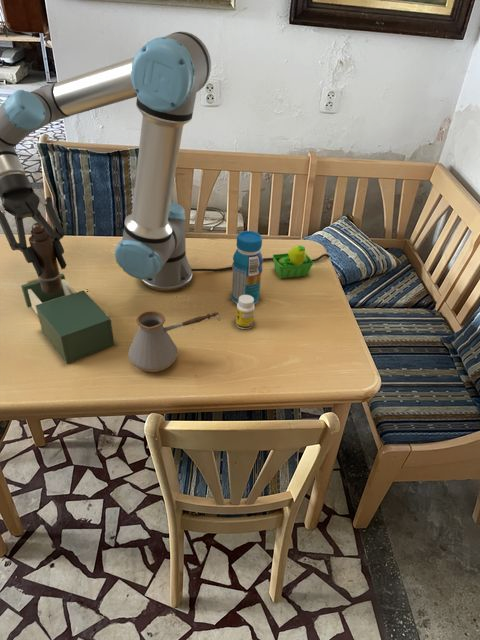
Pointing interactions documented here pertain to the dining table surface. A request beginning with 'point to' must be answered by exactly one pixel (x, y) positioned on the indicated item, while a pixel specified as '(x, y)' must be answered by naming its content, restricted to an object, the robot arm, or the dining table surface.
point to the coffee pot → (156, 341)
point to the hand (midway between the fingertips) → (52, 270)
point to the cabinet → (75, 326)
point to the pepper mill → (45, 259)
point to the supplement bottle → (245, 312)
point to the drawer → (37, 296)
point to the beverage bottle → (247, 266)
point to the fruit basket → (292, 263)
